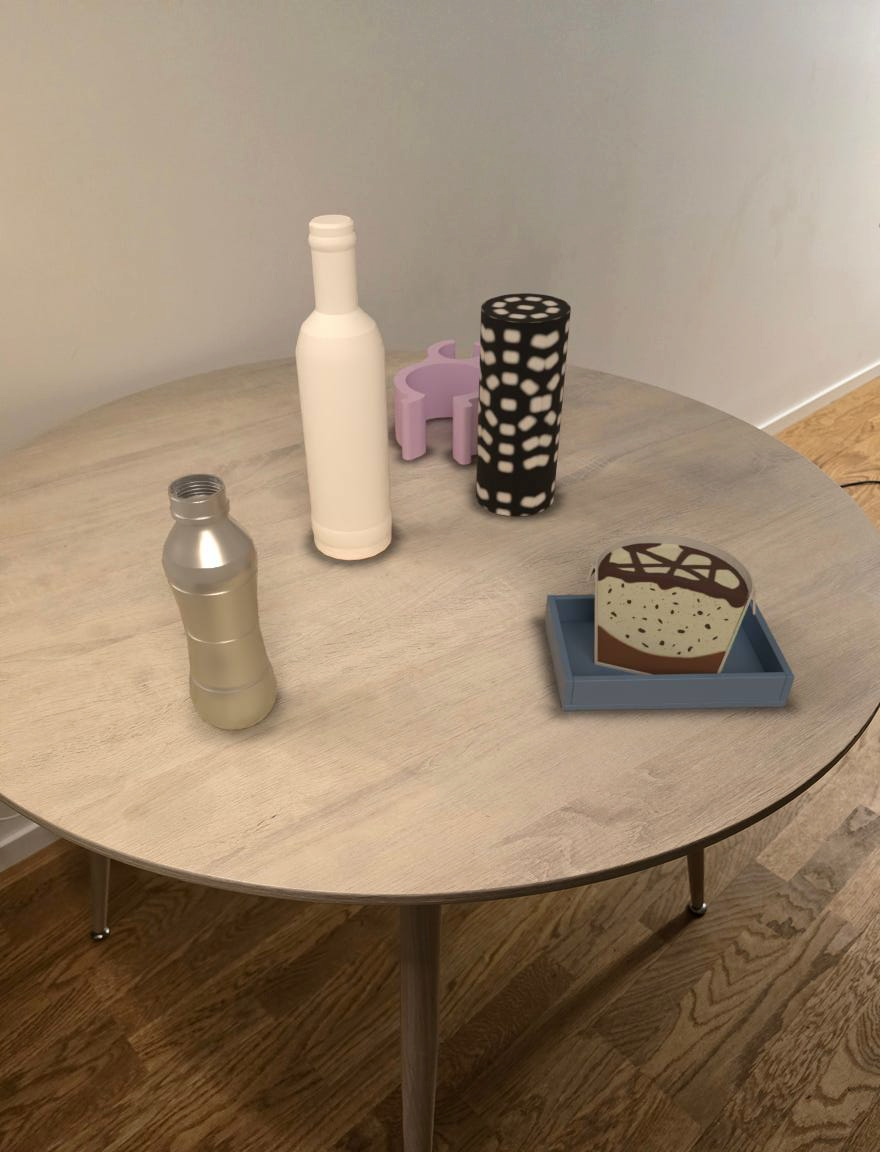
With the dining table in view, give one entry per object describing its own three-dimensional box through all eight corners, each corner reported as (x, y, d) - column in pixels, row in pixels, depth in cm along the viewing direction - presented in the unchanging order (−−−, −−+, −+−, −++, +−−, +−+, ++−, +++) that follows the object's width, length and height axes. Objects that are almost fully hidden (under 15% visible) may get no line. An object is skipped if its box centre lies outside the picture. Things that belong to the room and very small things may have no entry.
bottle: (389, 562, 86) (376, 232, 68) (308, 561, 87) (273, 233, 68) (394, 519, 93) (384, 206, 74) (319, 519, 93) (290, 207, 74)
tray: (742, 619, 78) (749, 590, 76) (785, 707, 69) (795, 676, 67) (544, 623, 78) (547, 594, 76) (562, 711, 69) (566, 681, 68)
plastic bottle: (221, 677, 74) (177, 456, 61) (295, 695, 72) (265, 471, 59) (179, 728, 69) (122, 501, 57) (256, 750, 67) (215, 519, 55)
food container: (741, 649, 74) (769, 547, 67) (732, 696, 69) (761, 591, 63) (593, 617, 78) (607, 518, 71) (576, 660, 73) (589, 557, 67)
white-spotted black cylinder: (465, 508, 94) (468, 317, 82) (489, 473, 100) (496, 289, 88) (541, 522, 91) (557, 327, 79) (562, 485, 97) (580, 298, 85)
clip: (418, 389, 119) (417, 337, 114) (512, 395, 116) (514, 343, 112) (382, 458, 104) (379, 401, 99) (489, 466, 101) (491, 409, 97)
